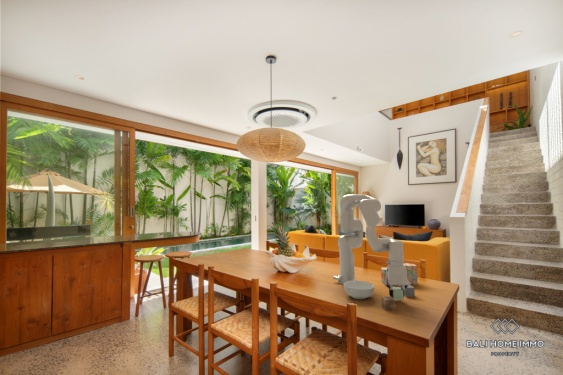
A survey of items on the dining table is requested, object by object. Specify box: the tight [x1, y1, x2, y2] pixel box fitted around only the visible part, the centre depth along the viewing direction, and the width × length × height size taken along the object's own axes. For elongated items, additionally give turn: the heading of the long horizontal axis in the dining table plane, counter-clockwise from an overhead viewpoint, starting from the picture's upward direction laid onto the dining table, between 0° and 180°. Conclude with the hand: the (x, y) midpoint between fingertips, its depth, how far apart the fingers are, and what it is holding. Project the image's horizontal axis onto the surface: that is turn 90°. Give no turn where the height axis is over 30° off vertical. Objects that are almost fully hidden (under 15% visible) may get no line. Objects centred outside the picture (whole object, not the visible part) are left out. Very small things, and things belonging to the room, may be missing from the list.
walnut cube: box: [381, 296, 396, 311], centre depth 136 cm, size 5×5×5 cm
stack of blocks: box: [380, 262, 419, 285], centre depth 177 cm, size 21×6×12 cm, turn 84°
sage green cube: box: [392, 286, 404, 301], centre depth 145 cm, size 5×5×5 cm
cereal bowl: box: [343, 279, 375, 300], centre depth 152 cm, size 17×17×7 cm
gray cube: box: [404, 284, 416, 298], centre depth 154 cm, size 5×5×5 cm
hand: (396, 296), depth 145 cm, fingers closed on sage green cube, 4 cm apart
